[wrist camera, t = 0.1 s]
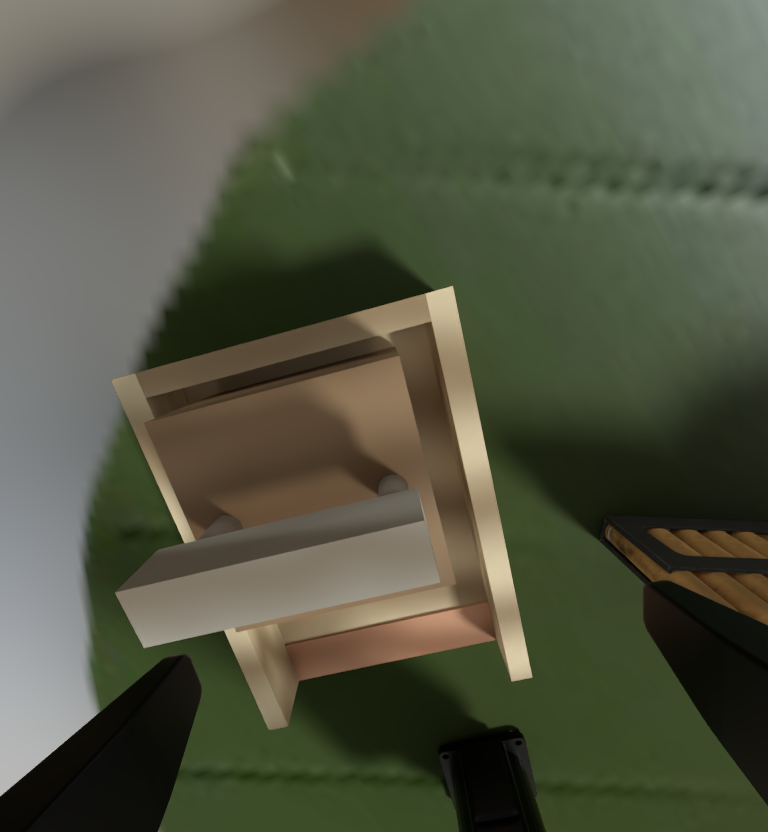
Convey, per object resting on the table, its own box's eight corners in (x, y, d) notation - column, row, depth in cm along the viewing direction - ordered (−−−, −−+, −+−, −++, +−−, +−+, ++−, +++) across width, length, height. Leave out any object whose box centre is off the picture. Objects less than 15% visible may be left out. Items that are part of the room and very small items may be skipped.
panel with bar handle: (436, 512, 21) (484, 686, 11) (275, 550, 22) (180, 747, 12) (394, 346, 19) (406, 370, 9) (215, 393, 19) (30, 469, 9)
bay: (508, 621, 24) (532, 677, 21) (286, 668, 26) (269, 730, 22) (438, 293, 19) (452, 286, 15) (163, 369, 20) (110, 379, 16)
